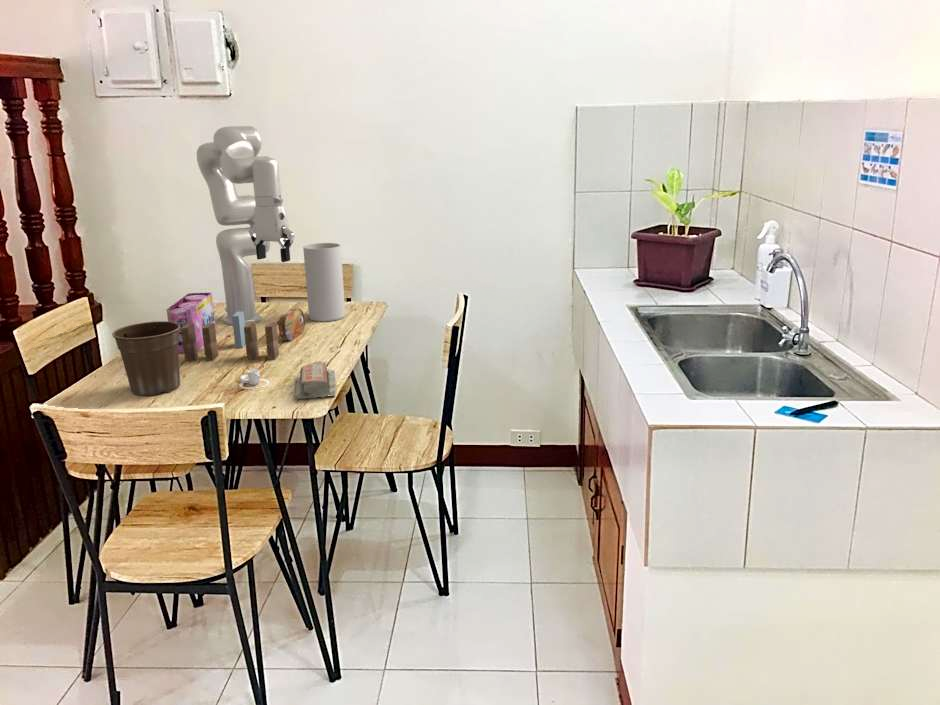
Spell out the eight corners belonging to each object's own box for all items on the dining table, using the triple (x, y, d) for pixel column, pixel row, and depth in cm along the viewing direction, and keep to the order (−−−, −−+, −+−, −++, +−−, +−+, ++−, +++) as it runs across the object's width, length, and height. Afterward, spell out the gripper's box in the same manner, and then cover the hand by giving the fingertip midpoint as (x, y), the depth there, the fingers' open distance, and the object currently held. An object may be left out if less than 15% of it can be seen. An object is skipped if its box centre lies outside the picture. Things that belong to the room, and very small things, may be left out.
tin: (287, 343, 245) (285, 317, 243) (278, 343, 246) (275, 317, 243) (306, 330, 259) (304, 305, 257) (297, 330, 260) (295, 305, 257)
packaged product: (334, 379, 196) (293, 382, 195) (336, 397, 198) (295, 401, 196) (333, 358, 213) (296, 360, 212) (335, 375, 215) (297, 378, 213)
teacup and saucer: (236, 382, 212) (235, 367, 211) (267, 378, 215) (265, 363, 214) (240, 392, 204) (238, 377, 203) (272, 387, 207) (270, 373, 206)
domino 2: (205, 361, 229) (201, 328, 226) (211, 355, 234) (207, 323, 232) (212, 361, 229) (208, 327, 226) (218, 355, 234) (214, 322, 232)
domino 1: (185, 361, 229) (180, 328, 226) (191, 356, 234) (187, 323, 232) (192, 361, 229) (187, 328, 226) (198, 355, 234) (194, 323, 232)
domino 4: (247, 360, 229) (243, 327, 226) (252, 354, 234) (248, 322, 232) (254, 360, 229) (250, 326, 226) (258, 354, 234) (255, 321, 232)
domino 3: (235, 347, 242) (231, 316, 239) (240, 342, 247) (236, 311, 244) (242, 347, 242) (238, 316, 239) (246, 342, 247) (243, 311, 244)
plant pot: (111, 400, 199) (101, 338, 194) (134, 379, 214) (125, 322, 210) (177, 398, 200) (168, 336, 195) (195, 377, 215) (187, 320, 210)
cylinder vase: (304, 321, 270) (298, 249, 263) (315, 312, 282) (309, 243, 275) (340, 322, 269) (334, 249, 261) (349, 313, 281) (344, 242, 273)
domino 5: (268, 359, 229) (264, 326, 226) (272, 354, 234) (269, 321, 232) (275, 359, 229) (271, 326, 226) (279, 354, 234) (276, 321, 232)
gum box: (195, 354, 237) (190, 309, 233) (169, 355, 236) (163, 310, 232) (217, 332, 259) (212, 292, 255) (192, 333, 259) (187, 292, 255)
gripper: (299, 201, 230) (304, 260, 235) (256, 199, 238) (261, 255, 243) (281, 204, 223) (286, 264, 228) (237, 202, 232) (243, 259, 237)
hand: (273, 260), depth 236 cm, fingers open, 9 cm apart
